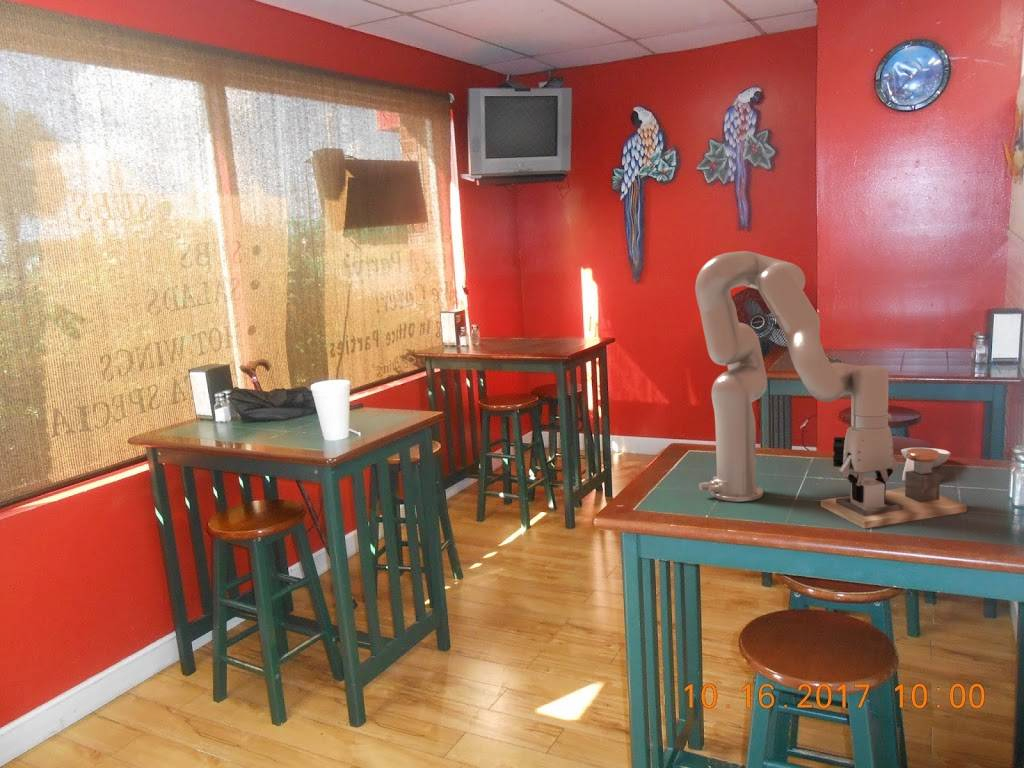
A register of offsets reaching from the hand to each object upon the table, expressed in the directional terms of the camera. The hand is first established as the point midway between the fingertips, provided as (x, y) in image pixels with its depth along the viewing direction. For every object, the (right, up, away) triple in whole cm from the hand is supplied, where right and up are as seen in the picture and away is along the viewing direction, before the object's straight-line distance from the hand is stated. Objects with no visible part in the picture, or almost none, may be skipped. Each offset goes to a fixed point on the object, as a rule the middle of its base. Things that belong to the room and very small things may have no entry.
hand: (868, 498), depth 185 cm
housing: (0, -2, +1) cm, 2 cm away
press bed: (+5, -3, +2) cm, 6 cm away
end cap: (+12, +4, +39) cm, 41 cm away
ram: (+14, +4, +3) cm, 14 cm away
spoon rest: (+26, +3, +28) cm, 39 cm away
